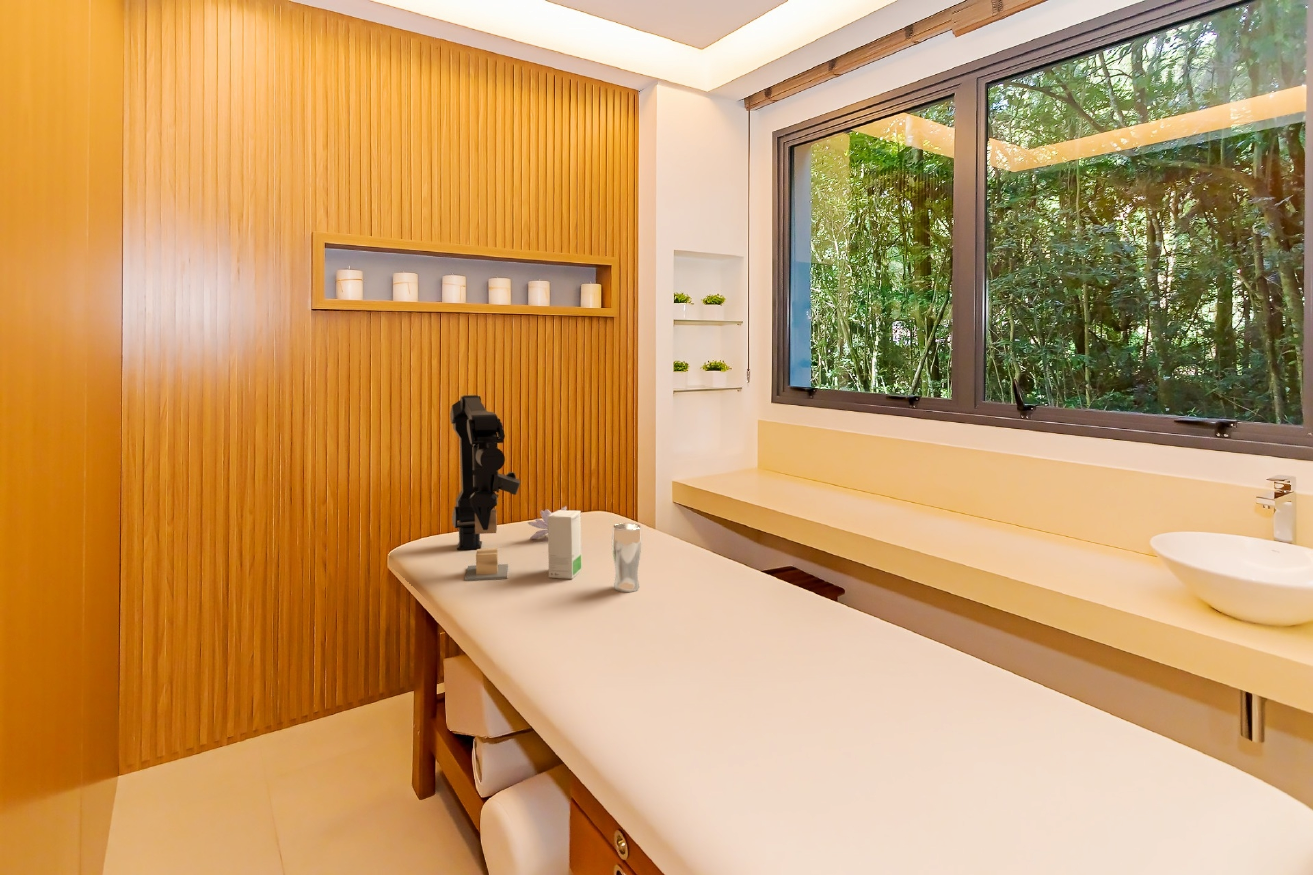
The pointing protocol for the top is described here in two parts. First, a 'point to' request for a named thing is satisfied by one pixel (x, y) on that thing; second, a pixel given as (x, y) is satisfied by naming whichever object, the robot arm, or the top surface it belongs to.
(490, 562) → the oak cube
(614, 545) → the beer glass
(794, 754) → the top surface
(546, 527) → the water lily
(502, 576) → the slate coaster
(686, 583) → the top surface
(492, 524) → the walnut cube
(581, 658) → the top surface
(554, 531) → the skincare box
